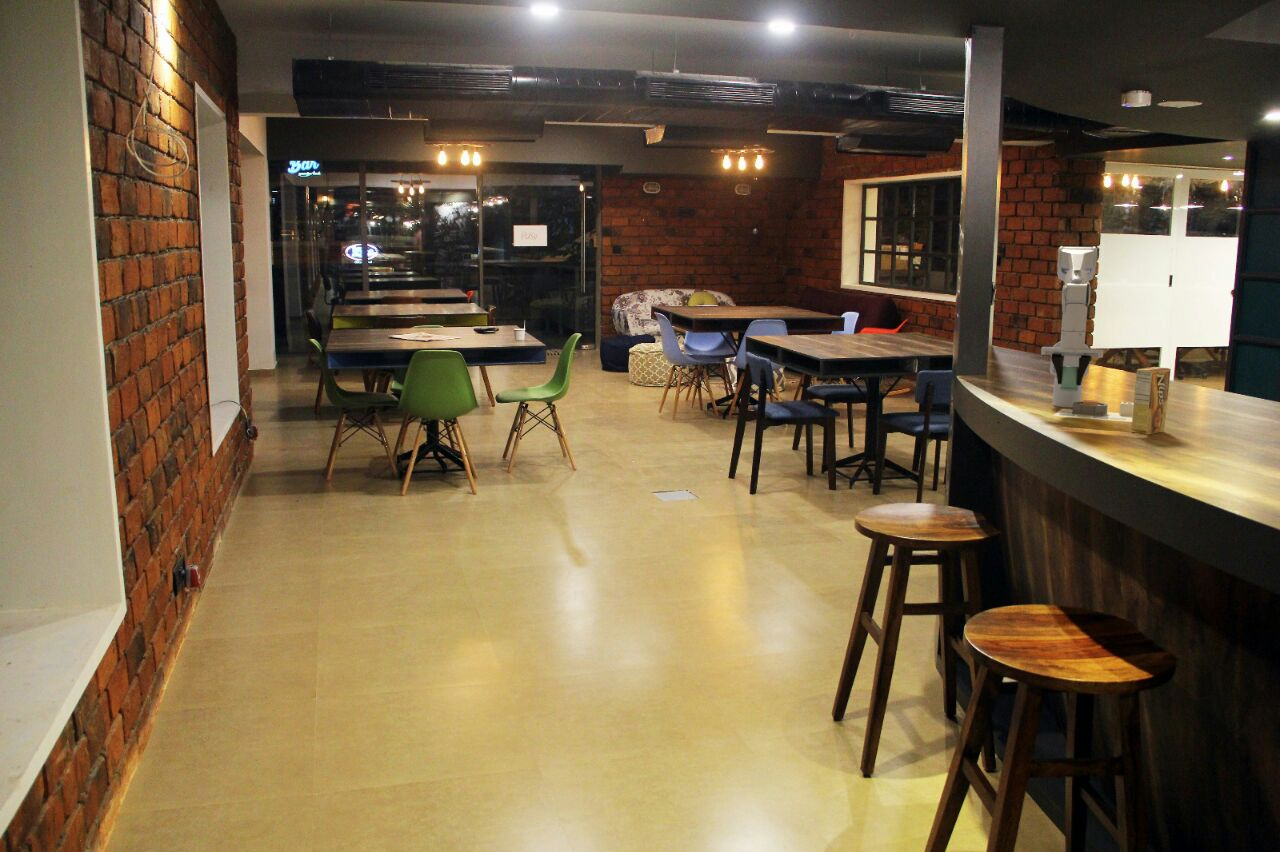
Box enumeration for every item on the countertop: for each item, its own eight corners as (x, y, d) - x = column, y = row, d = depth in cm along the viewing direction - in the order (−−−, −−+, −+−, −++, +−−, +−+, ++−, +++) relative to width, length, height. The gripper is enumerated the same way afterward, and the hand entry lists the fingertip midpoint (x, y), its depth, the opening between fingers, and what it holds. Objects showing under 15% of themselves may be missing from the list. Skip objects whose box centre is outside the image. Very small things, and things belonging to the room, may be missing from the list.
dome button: (1079, 407, 284) (1080, 399, 283) (1102, 409, 281) (1103, 400, 280) (1076, 410, 279) (1077, 401, 278) (1100, 411, 276) (1100, 403, 276)
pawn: (1061, 388, 279) (1062, 365, 278) (1079, 389, 276) (1081, 366, 275) (1058, 390, 275) (1060, 367, 274) (1076, 391, 273) (1078, 368, 272)
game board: (1061, 412, 288) (1062, 397, 287) (1152, 419, 277) (1153, 403, 277) (1052, 419, 275) (1053, 403, 275) (1146, 427, 264) (1148, 410, 264)
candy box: (1148, 429, 261) (1153, 366, 259) (1165, 431, 258) (1171, 368, 255) (1130, 433, 256) (1135, 368, 253) (1148, 435, 252) (1153, 370, 250)
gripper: (1040, 330, 273) (1036, 384, 276) (1102, 333, 266) (1097, 388, 268) (1045, 329, 279) (1041, 381, 282) (1105, 331, 272) (1101, 385, 274)
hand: (1069, 384), depth 275 cm, fingers closed on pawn, 4 cm apart
